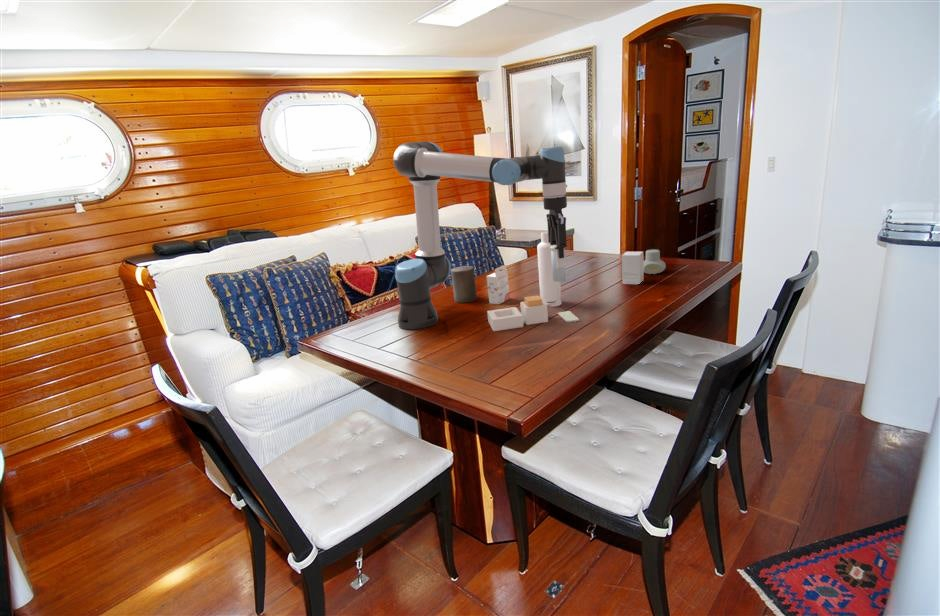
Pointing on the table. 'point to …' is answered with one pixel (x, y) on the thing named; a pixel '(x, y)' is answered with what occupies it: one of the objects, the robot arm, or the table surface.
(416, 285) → the robot arm
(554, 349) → the table surface
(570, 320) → the rubber mat
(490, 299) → the ink cartridge box
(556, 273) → the grey rounded cylinder
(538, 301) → the plunger
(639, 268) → the supplement box
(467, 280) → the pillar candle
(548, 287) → the bottle
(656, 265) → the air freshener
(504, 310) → the white compartment holder
